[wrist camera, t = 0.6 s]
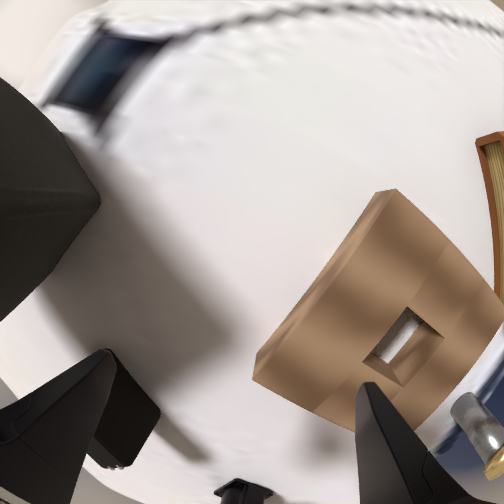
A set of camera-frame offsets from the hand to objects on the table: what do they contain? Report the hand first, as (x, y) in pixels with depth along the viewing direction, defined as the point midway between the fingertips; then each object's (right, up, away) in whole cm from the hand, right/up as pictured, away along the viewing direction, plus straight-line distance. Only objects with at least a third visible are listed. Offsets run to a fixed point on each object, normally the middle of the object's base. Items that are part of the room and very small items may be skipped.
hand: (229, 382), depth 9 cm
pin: (+28, -15, +15) cm, 36 cm away
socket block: (+14, -3, +15) cm, 20 cm away
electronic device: (-14, -11, +19) cm, 26 cm away
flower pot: (-22, +10, +17) cm, 30 cm away
